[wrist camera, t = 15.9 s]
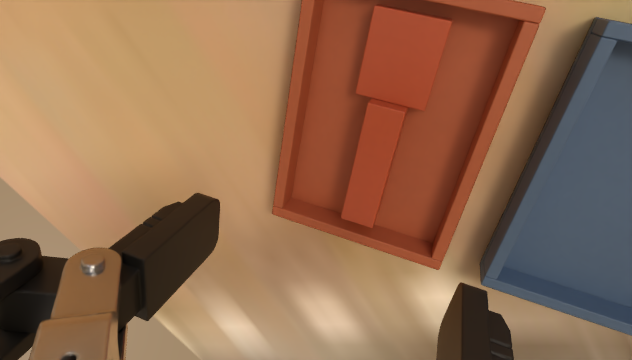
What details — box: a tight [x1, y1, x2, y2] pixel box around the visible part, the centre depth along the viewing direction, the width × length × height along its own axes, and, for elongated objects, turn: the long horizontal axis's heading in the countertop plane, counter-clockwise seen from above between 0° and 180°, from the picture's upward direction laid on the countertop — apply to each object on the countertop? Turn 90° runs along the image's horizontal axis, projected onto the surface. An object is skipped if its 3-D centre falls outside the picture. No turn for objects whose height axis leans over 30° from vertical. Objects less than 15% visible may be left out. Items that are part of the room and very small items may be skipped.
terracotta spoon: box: [341, 4, 453, 228], centre depth 20 cm, size 10×3×2 cm, turn 170°
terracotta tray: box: [272, 0, 546, 270], centre depth 20 cm, size 13×10×2 cm
